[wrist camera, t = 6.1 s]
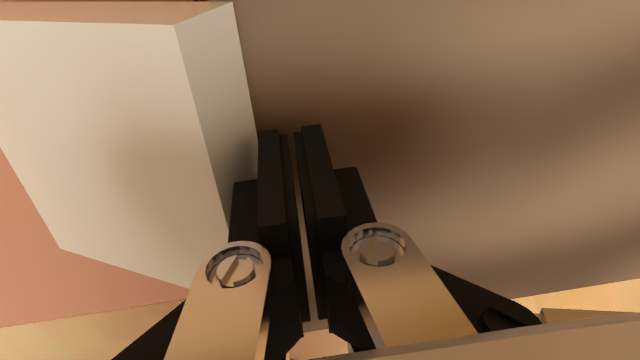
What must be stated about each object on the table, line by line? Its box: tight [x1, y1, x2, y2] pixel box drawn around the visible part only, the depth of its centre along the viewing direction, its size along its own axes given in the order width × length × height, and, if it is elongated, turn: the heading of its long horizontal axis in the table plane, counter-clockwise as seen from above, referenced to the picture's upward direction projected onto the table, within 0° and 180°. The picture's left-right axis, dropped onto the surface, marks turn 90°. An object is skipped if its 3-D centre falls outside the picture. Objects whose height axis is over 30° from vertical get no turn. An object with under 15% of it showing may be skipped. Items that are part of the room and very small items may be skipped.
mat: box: [0, 0, 195, 328], centre depth 14 cm, size 18×14×1 cm
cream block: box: [0, 2, 258, 289], centre depth 12 cm, size 8×8×2 cm
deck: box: [208, 0, 640, 333], centre depth 14 cm, size 16×16×4 cm
